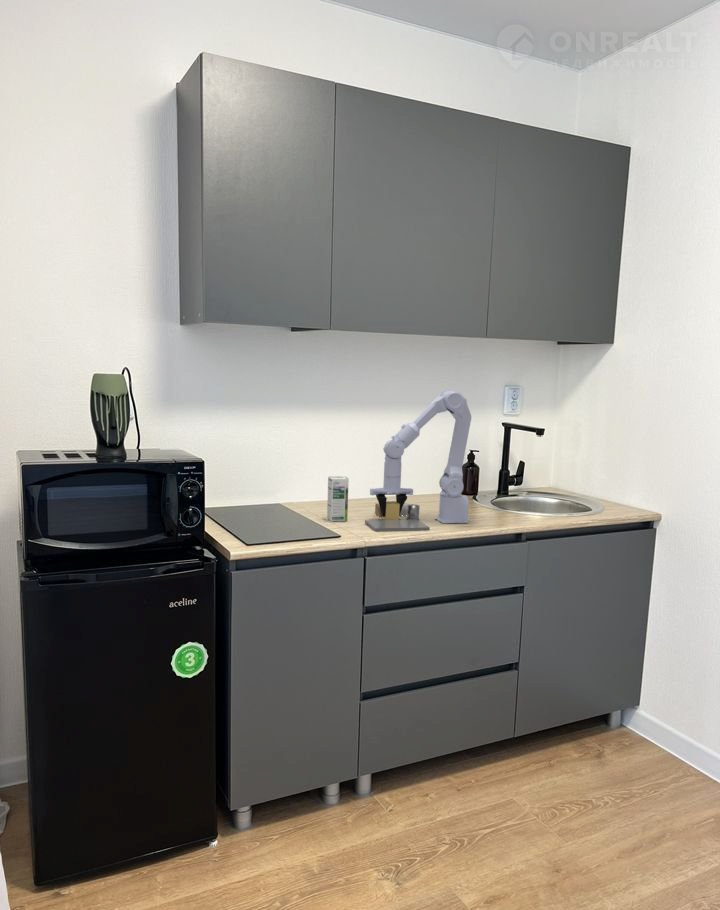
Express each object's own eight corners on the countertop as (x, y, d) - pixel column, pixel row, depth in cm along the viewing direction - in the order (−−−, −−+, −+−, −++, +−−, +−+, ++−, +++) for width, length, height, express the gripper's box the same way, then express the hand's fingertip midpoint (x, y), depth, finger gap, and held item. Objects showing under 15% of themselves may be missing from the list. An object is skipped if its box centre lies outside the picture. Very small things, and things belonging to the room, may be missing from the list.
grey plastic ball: (406, 514, 247) (407, 503, 246) (410, 516, 243) (410, 505, 242) (396, 514, 246) (396, 503, 245) (399, 516, 242) (399, 505, 241)
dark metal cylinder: (416, 518, 240) (417, 504, 239) (420, 521, 236) (421, 506, 235) (405, 518, 239) (406, 504, 238) (409, 521, 235) (409, 506, 234)
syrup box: (330, 522, 229) (332, 478, 227) (326, 518, 235) (328, 475, 233) (347, 521, 231) (349, 478, 229) (343, 517, 236) (344, 475, 235)
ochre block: (394, 518, 238) (395, 501, 237) (398, 521, 234) (399, 503, 233) (382, 518, 237) (382, 501, 236) (386, 521, 233) (386, 504, 232)
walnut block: (388, 514, 246) (389, 503, 245) (393, 517, 241) (393, 506, 240) (374, 514, 244) (375, 503, 244) (379, 517, 239) (379, 506, 239)
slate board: (416, 522, 234) (417, 519, 233) (429, 530, 222) (429, 527, 222) (364, 523, 229) (365, 520, 229) (375, 531, 217) (375, 528, 217)
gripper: (409, 474, 239) (407, 513, 241) (368, 474, 236) (366, 513, 237) (416, 477, 233) (414, 517, 234) (374, 477, 229) (372, 518, 230)
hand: (390, 516), depth 235 cm, fingers closed on ochre block, 4 cm apart
